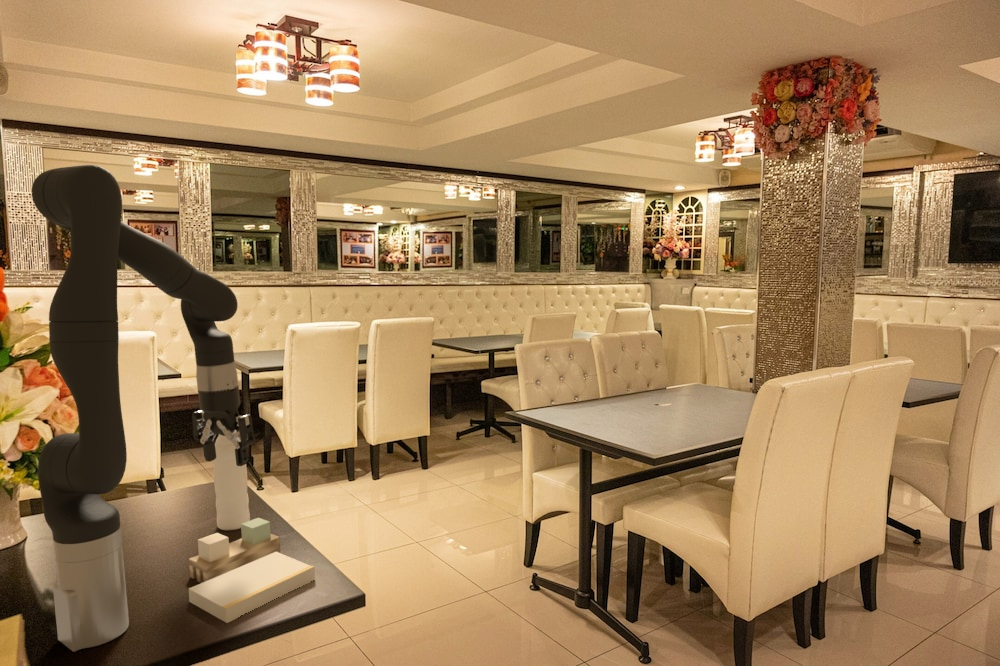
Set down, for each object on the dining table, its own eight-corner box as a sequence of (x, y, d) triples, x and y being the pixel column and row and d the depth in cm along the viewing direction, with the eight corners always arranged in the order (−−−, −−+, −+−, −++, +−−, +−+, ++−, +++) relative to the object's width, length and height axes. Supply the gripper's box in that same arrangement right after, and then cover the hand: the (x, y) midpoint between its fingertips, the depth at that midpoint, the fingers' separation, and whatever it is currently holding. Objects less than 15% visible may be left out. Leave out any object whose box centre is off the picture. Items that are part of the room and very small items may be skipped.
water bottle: (217, 522, 153) (210, 416, 150) (250, 517, 156) (243, 413, 153) (216, 533, 146) (208, 424, 144) (250, 528, 149) (243, 420, 146)
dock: (227, 623, 110) (226, 608, 110) (189, 601, 117) (188, 588, 117) (315, 579, 124) (314, 566, 124) (276, 563, 131) (276, 551, 131)
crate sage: (253, 545, 131) (252, 528, 131) (241, 540, 134) (240, 523, 133) (270, 538, 135) (269, 521, 134) (259, 533, 137) (258, 517, 137)
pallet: (207, 587, 123) (205, 566, 122) (190, 578, 126) (188, 558, 126) (280, 555, 136) (279, 536, 135) (263, 548, 139) (262, 530, 139)
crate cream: (210, 562, 124) (208, 544, 124) (198, 557, 127) (197, 539, 126) (229, 554, 127) (228, 537, 127) (218, 549, 130) (217, 532, 129)
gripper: (176, 387, 131) (186, 465, 133) (229, 392, 125) (238, 473, 128) (207, 378, 138) (215, 453, 140) (259, 383, 132) (266, 460, 134)
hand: (226, 462), depth 134 cm, fingers open, 8 cm apart
